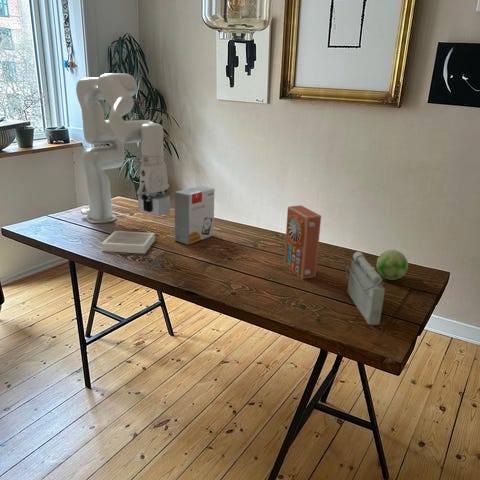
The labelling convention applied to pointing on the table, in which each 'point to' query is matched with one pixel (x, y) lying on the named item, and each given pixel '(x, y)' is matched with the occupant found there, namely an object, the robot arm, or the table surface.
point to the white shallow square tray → (128, 242)
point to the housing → (156, 204)
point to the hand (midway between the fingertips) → (154, 208)
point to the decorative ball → (392, 265)
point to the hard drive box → (194, 214)
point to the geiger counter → (365, 288)
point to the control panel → (302, 241)
